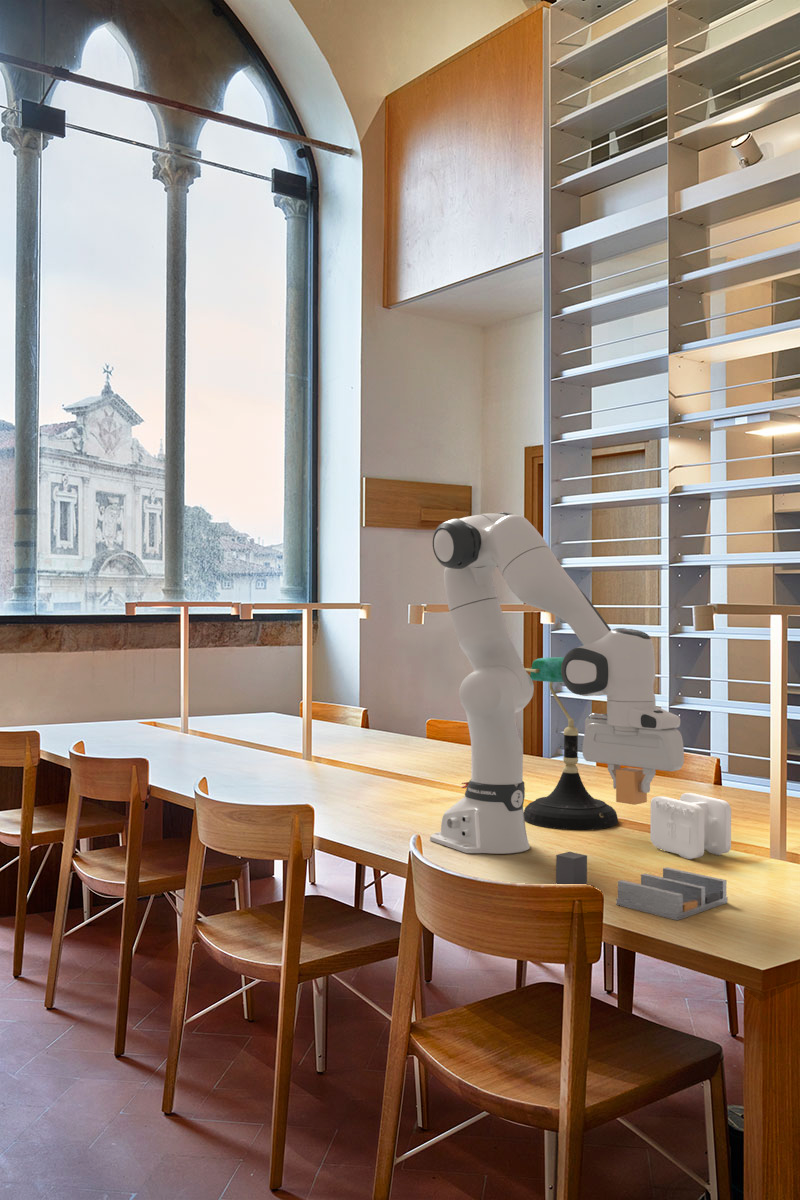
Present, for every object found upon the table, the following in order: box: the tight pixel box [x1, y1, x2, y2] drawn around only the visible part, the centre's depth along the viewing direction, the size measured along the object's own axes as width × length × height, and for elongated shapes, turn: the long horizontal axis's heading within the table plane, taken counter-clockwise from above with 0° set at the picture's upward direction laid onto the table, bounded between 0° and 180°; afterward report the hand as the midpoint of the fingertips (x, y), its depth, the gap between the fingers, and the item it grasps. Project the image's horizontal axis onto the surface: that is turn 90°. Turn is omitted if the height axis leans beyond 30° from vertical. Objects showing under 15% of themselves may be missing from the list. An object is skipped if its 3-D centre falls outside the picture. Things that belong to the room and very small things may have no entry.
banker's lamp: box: [523, 656, 619, 831], centre depth 250 cm, size 26×23×40 cm
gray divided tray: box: [615, 866, 729, 921], centre depth 178 cm, size 12×16×4 cm
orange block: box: [615, 766, 648, 806], centre depth 190 cm, size 4×4×6 cm
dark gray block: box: [555, 851, 588, 885], centre depth 187 cm, size 4×4×6 cm
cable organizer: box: [649, 792, 732, 860], centre depth 217 cm, size 15×11×12 cm
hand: (631, 790), depth 190 cm, fingers closed on orange block, 4 cm apart
